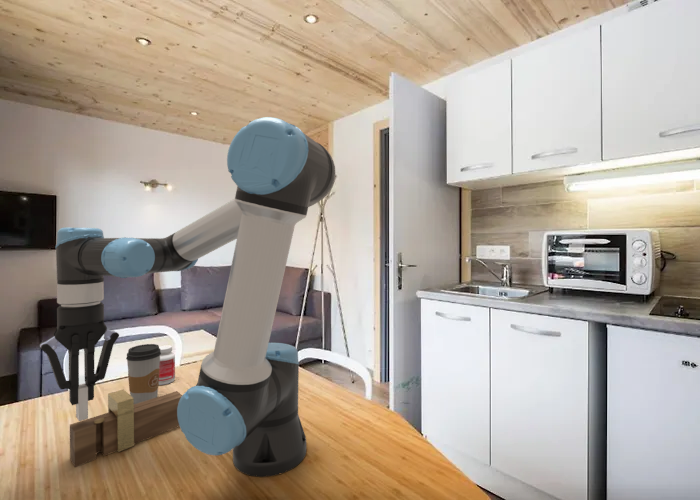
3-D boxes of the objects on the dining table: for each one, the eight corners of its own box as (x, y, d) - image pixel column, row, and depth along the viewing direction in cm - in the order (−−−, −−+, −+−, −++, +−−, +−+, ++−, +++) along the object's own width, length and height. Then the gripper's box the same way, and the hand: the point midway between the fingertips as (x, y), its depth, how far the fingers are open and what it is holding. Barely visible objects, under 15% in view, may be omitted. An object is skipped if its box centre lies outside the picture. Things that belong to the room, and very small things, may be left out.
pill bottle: (177, 381, 110) (177, 347, 109) (156, 387, 105) (156, 351, 105) (171, 376, 114) (171, 343, 114) (150, 381, 110) (150, 347, 110)
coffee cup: (145, 409, 91) (145, 353, 91) (119, 406, 93) (118, 351, 93) (168, 396, 100) (167, 344, 99) (143, 393, 101) (142, 342, 101)
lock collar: (134, 445, 75) (133, 398, 75) (117, 452, 73) (117, 403, 72) (123, 434, 79) (123, 389, 79) (108, 440, 77) (108, 393, 77)
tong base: (184, 424, 84) (184, 394, 84) (74, 467, 68) (74, 430, 68) (176, 418, 87) (176, 389, 87) (70, 458, 71) (69, 422, 71)
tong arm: (183, 424, 84) (183, 396, 84) (103, 455, 72) (103, 422, 72) (180, 421, 86) (180, 393, 85) (101, 452, 73) (100, 419, 73)
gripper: (113, 297, 78) (114, 400, 78) (35, 305, 68) (36, 423, 68) (123, 301, 73) (124, 412, 73) (41, 310, 63) (42, 437, 64)
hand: (82, 417), depth 71 cm, fingers closed
